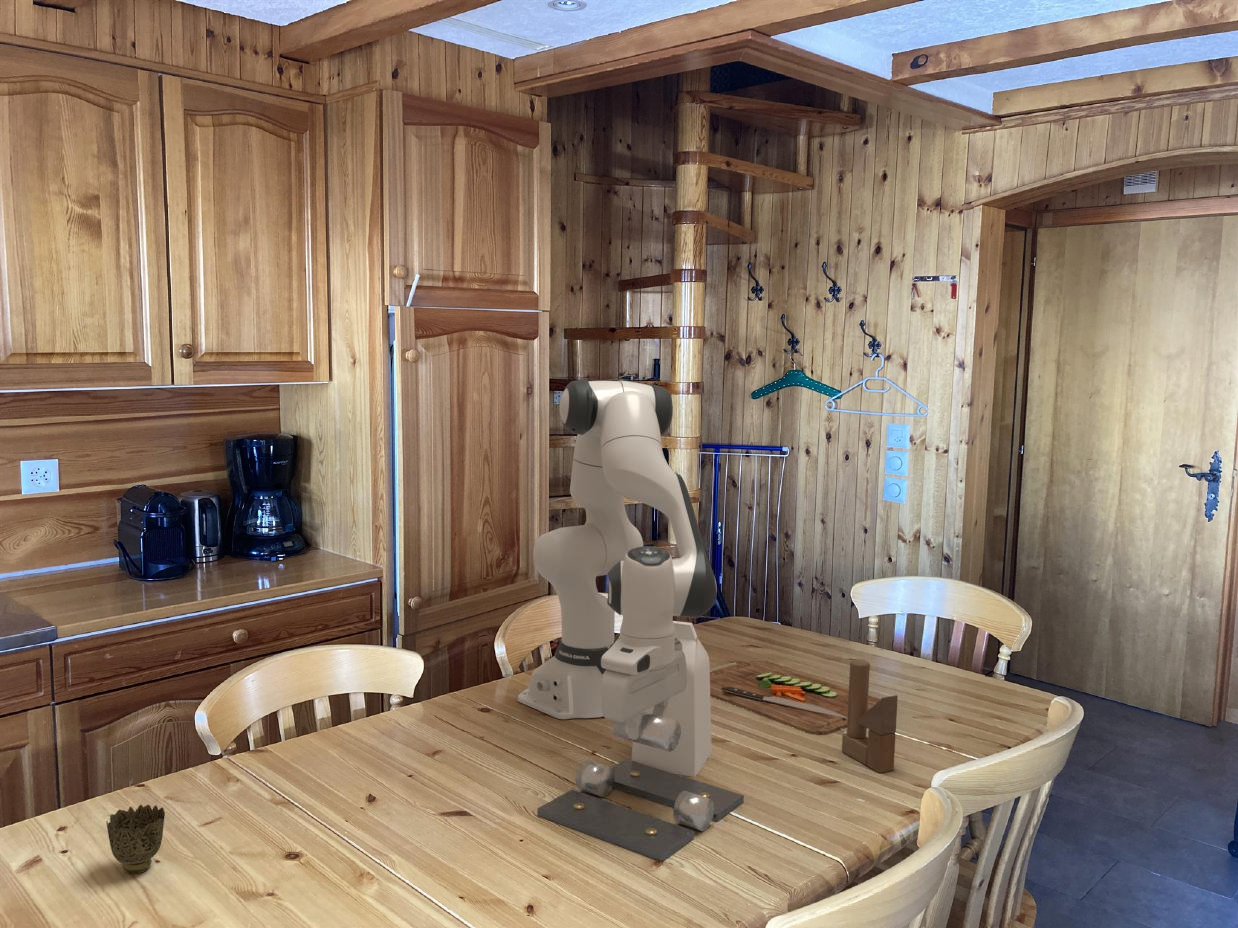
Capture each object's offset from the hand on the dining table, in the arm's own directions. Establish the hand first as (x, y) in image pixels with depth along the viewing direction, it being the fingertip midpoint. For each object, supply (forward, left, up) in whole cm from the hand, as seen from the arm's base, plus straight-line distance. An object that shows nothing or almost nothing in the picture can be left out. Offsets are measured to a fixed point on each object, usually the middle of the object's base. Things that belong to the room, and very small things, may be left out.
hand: (645, 731), depth 162 cm
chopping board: (-6, +65, -14) cm, 67 cm away
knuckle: (0, 0, -2) cm, 2 cm away
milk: (-7, +20, -13) cm, 25 cm away
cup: (-46, -60, -13) cm, 77 cm away
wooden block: (+22, +42, -13) cm, 49 cm away
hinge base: (0, 0, -13) cm, 13 cm away
